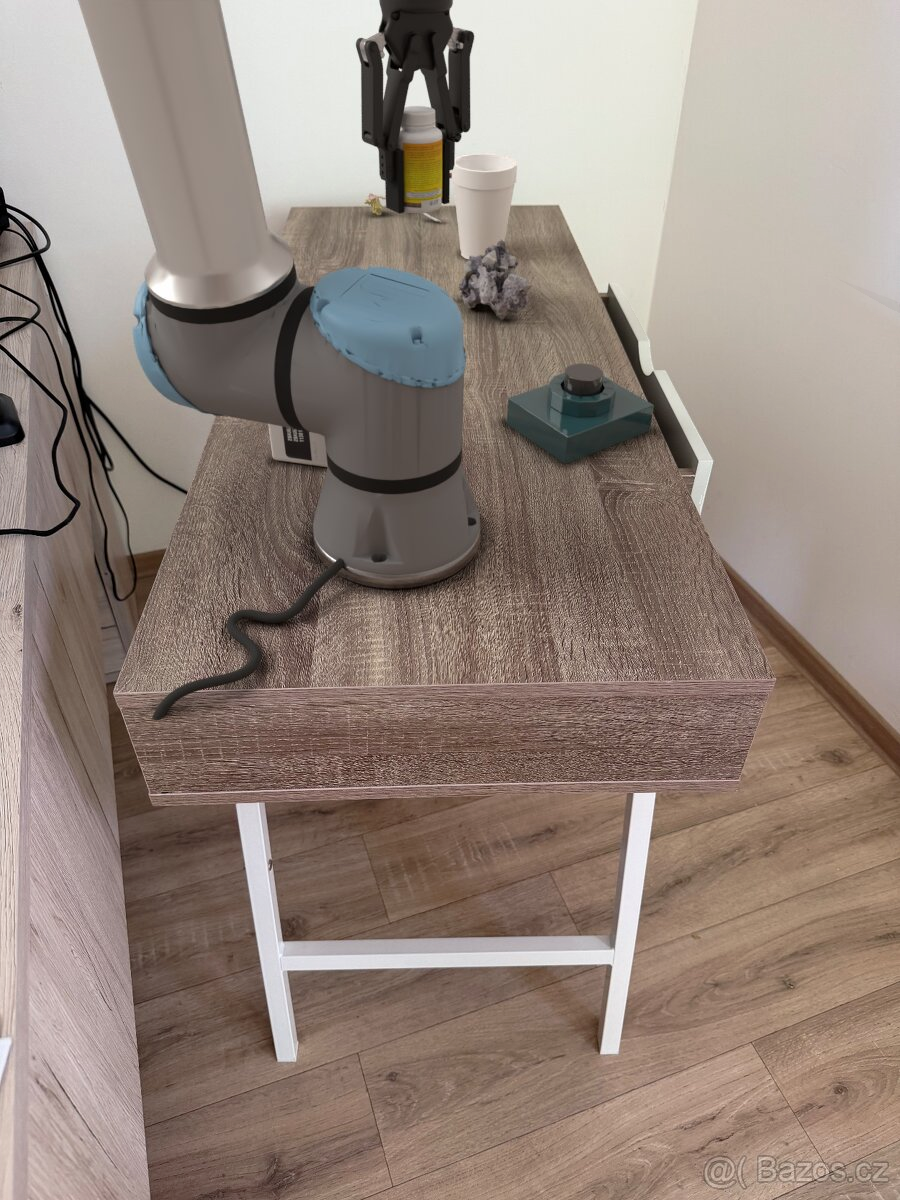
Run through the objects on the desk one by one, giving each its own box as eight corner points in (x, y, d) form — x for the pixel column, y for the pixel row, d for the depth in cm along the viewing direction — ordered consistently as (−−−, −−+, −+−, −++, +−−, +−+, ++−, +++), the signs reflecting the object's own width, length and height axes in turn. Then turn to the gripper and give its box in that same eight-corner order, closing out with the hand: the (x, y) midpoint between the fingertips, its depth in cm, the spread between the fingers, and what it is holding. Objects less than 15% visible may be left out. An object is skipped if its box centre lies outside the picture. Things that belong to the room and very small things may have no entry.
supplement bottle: (451, 208, 106) (453, 110, 100) (414, 218, 104) (413, 118, 97) (421, 197, 110) (420, 101, 103) (384, 206, 107) (381, 108, 100)
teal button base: (565, 464, 94) (569, 421, 91) (506, 423, 101) (508, 382, 97) (649, 431, 100) (657, 389, 96) (589, 394, 106) (593, 354, 103)
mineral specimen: (537, 303, 116) (512, 224, 114) (468, 329, 118) (442, 251, 116) (537, 311, 128) (514, 240, 126) (474, 335, 129) (451, 265, 128)
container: (343, 471, 93) (334, 351, 85) (271, 461, 94) (255, 342, 86) (366, 433, 99) (359, 317, 90) (298, 424, 100) (285, 309, 92)
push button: (580, 402, 95) (582, 384, 94) (555, 387, 98) (557, 369, 96) (608, 392, 97) (611, 374, 95) (584, 377, 99) (585, 359, 98)
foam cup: (440, 248, 141) (441, 157, 133) (494, 239, 144) (497, 150, 136) (467, 269, 135) (469, 175, 126) (523, 259, 138) (528, 167, 129)
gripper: (355, -29, 85) (366, 228, 100) (511, -39, 94) (500, 200, 108) (315, -37, 90) (331, 210, 104) (467, -45, 98) (463, 184, 113)
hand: (417, 204), depth 106 cm, fingers closed on supplement bottle, 6 cm apart
